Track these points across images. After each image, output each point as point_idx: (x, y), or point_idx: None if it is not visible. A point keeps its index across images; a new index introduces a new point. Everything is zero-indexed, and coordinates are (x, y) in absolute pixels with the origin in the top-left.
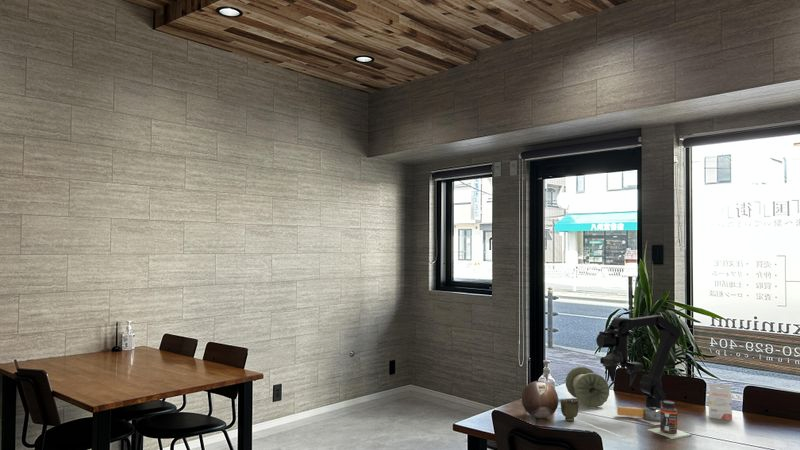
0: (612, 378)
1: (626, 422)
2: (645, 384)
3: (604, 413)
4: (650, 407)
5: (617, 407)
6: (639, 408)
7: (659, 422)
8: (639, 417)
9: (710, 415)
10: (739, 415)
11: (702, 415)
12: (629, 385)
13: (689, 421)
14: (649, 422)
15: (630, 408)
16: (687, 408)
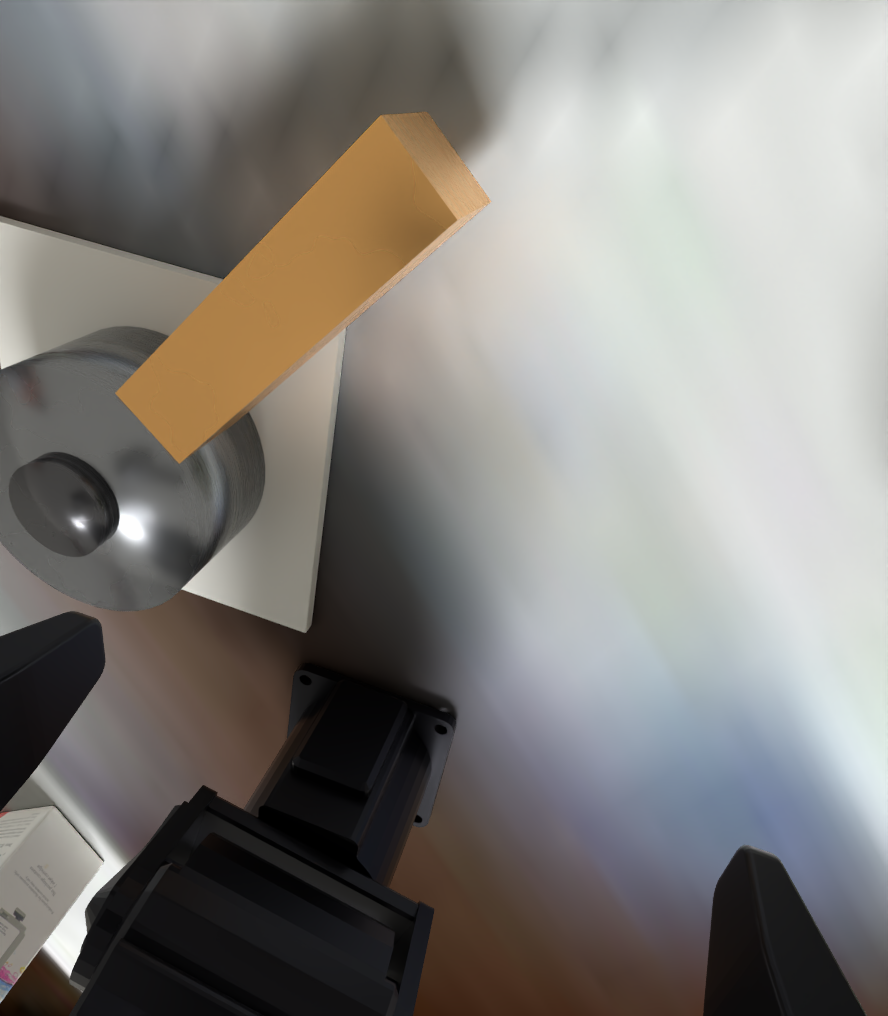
0: (749, 953)
1: (244, 17)
2: (202, 995)
3: (775, 223)
4: (65, 484)
5: (430, 176)
6: (177, 402)
7: None
8: (277, 389)
9: (30, 824)
10: (55, 948)
11: (129, 851)
12: (63, 621)
13: None
14: (72, 261)
15: (232, 278)
16: None
